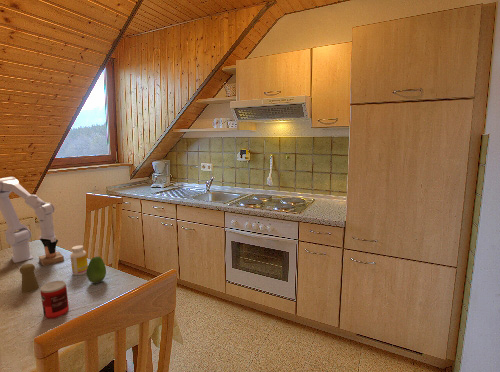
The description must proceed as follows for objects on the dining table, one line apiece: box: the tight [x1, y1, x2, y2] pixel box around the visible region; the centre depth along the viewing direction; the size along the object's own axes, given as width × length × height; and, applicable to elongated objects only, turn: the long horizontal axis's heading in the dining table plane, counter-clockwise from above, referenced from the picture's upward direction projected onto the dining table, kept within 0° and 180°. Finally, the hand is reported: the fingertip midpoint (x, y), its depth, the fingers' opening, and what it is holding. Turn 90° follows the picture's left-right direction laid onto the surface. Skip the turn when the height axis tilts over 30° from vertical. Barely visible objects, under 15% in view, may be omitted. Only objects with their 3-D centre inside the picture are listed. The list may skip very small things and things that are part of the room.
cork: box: [19, 263, 40, 294], centre depth 126 cm, size 6×6×11 cm
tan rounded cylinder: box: [43, 246, 57, 258], centre depth 154 cm, size 5×5×6 cm
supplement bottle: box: [70, 244, 89, 276], centre depth 140 cm, size 7×7×13 cm
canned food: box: [39, 280, 70, 319], centre depth 109 cm, size 8×8×11 cm
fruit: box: [85, 256, 107, 284], centre depth 131 cm, size 8×8×12 cm
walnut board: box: [38, 251, 65, 267], centre depth 154 cm, size 9×9×2 cm
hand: (50, 252), depth 154 cm, fingers open, 5 cm apart
